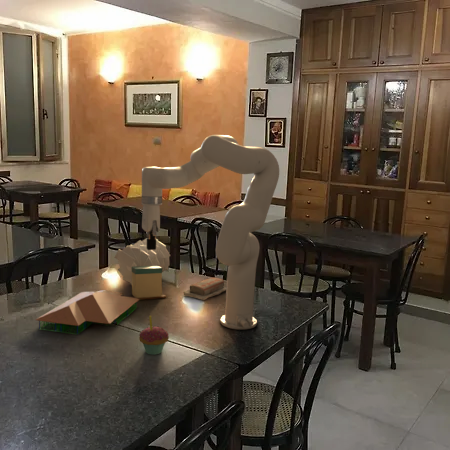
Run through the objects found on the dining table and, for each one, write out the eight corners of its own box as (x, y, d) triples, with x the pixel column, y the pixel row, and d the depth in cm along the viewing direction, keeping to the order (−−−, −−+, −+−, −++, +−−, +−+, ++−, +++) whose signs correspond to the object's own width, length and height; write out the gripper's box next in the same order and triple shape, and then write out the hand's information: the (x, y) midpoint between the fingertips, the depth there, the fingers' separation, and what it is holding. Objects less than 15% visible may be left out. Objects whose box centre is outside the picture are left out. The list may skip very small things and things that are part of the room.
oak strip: (165, 298, 195) (166, 296, 195) (129, 300, 190) (129, 298, 190) (164, 296, 197) (164, 294, 197) (128, 298, 192) (128, 297, 192)
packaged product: (209, 274, 213) (228, 279, 208) (208, 285, 214) (228, 290, 208) (183, 284, 198) (204, 289, 193) (182, 295, 199) (203, 301, 193)
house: (142, 305, 185) (142, 284, 184) (103, 338, 153) (103, 313, 152) (84, 298, 190) (84, 277, 188) (35, 329, 158) (34, 304, 156)
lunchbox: (162, 267, 193) (157, 265, 200) (135, 269, 189) (131, 266, 197) (162, 296, 193) (157, 292, 201) (135, 298, 190) (131, 294, 197)
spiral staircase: (162, 283, 228) (140, 296, 204) (131, 263, 231) (105, 273, 207) (181, 249, 224) (160, 258, 200) (148, 229, 227) (124, 235, 203)
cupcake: (155, 360, 141) (156, 319, 139) (132, 352, 145) (133, 312, 143) (174, 350, 148) (175, 311, 146) (151, 342, 152) (152, 304, 150)
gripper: (137, 198, 190) (137, 245, 193) (146, 203, 177) (145, 254, 180) (157, 198, 193) (156, 245, 196) (166, 203, 179) (165, 253, 182)
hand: (151, 249), depth 188 cm, fingers closed
